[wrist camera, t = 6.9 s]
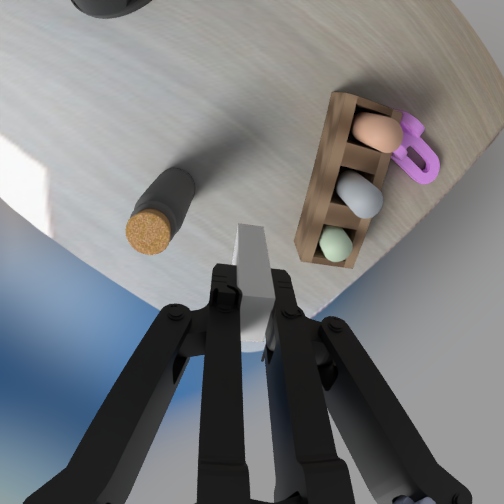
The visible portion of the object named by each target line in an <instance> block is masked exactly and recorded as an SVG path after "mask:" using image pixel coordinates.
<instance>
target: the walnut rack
mask: <svg viewBox="0 0 504 504" xmlns="http://www.w3.org/2000/svg"><path fill="white" fill-rule="evenodd" d="M355 107H359V108H362V109H365V110H368V111H371V112H372V114H377V115H381V116H385V117H390V118H393V119H395V120H396V121H397V122H398V123H399V124H400V122H401V119H402V115H403V113H402V112H399V111H397V110H394V109H392V108H389V107H387V106H384V105H381V104H378V103H376V102H373V101H370V100H367V99H364V98H361V97H358V96H355V95H352V94H349V93H343V92H332V94H331V98H330V102H329V107H328V111H327V115H326V119H325V124H324V128H323V132H322V136H321V140H320V144H319V148H318V152H317V156H316V160H315V164H314V168H313V172H312V176H311V180H310V184H309V187H308V191H307V195H306V199H305V203H304V206H303V210H302V214H301V217H300V221H299V225H298V228H297V232H296V236H295V239H294V243H295V246H296V248H297V251H298V254H299V257H300V260H301V261H302V262H309V263H316V264H323V265H330V266H337V267H344V268H351V269H353V266H354V264H355V261H356V259H357V256H358V254H359V251H360V248H361V246H362V243H363V240H364V238H365V235H366V232H367V229H368V227H369V224H370V221H371V218H372V217H371V218H367V219H363V218H360V217H358V216H356V215H355V214H354V212H353V211H352V210H351V209H350V208H349V207H348V205H347V204H346V203H345V202H344V201H343V200H342V199H341V197H340V196H339V195H338V194H337V192H335V191H333V190H334V187H335V183H336V180H337V176H338V172H339V169H340V165H341V166H345V167H349V168H352V169H356V170H357V173H359V174H360V175H361V176H363V177H364V178H365V179H366V180H368V181H369V182H370V183H372V184H373V185H374V186H375V187H377V188H378V189H379V190H380V191H381V188H382V185H383V182H384V179H385V176H386V172H387V169H388V166H389V162H390V159H391V156H392V152H391V153H384V152H381V151H379V150H377V149H375V148H373V147H371V146H369V145H367V144H362V143H358V142H355V141H351V140H348V135H349V131H350V127H351V123H352V119H353V115H354V111H355ZM323 224H327V225H333V226H338V227H342V228H343V230H344V231H345V233H346V234H347V236H348V237H349V239H350V240H351V242H352V246H353V247H352V252H351V254H350V255H349V256H348V257H347V258H346V259H345V260H343V261H340V262H332V261H330V260H328V259H327V258H326V257H325V255H324V253H323V251H322V248H321V246H320V244H319V242H318V240H319V237H320V234H321V230H322V227H323Z"/></svg>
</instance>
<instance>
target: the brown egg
mask: <svg viewBox="0 0 504 504" xmlns="http://www.w3.org/2000/svg"><path fill="white" fill-rule="evenodd" d="M351 132H352V135H353V136H354V137H355V138H356V139H357V140H358V141H360V142H362V143H364V144H367V145H369V146H371V147H373V148H375V149H377V150H379V151H381V152H384V153H391V152H394V151H395V150H397V149H398V148H399V147H400V145H401V143H402V140H403V131H402V128H401V126H400V124H399V123H398V122H397V121H396V120H395V119H393V118H390V117H385V116H381V115H377V114H372V113H368V112H361V113H358V114H357V115H355V116H354V118H353V119H352V123H351Z"/></svg>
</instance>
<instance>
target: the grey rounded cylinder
mask: <svg viewBox="0 0 504 504" xmlns="http://www.w3.org/2000/svg"><path fill="white" fill-rule="evenodd" d="M335 190H336V192H337V194H338V195H339V196H340V197H341V199H342V200H343V201H344V202H345V203H346V204H347V205H348V207H349V208H350V209H351V210H352V211H353V212H354V214H355V215H356V216H358V217H360V218H363V219H367V218H371V217H373V216H375V215H376V214H377V213H378V212H379V211H380V210H381V208H382V205H383V195H382V193H381V191H380V190H379V189H378V188H377V187H375V186H374V185H373V184H372V183H370V182H369V181H368V180H366V179H365V178H364V177H363V176H361V175H360V174H359V173H357V172H355V171H352V170H347V171H344V172H342V173H341V174H340V175H339V176H338V177H337V180H336V183H335Z"/></svg>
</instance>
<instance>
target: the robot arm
mask: <svg viewBox="0 0 504 504" xmlns="http://www.w3.org/2000/svg"><path fill="white" fill-rule="evenodd" d="M71 1H72V3H73V5H74V6H75V7H76V8H77V9H78V10H80V11H81V12H83V13H85V14H87V15H90V16H92V17H96V18H102V19H109V18H116V17H121V16H124V15H127V14H129V13H132V12H134V11H136V10H138V9H140V8H141V7H143V6H145V5H146V4H147V3H149V2H150V1H151V0H71ZM265 335H266V345H265V348H264V352H263V356H262V360H261V361H264V358H265V364H266V365H265V366H266V376H267V387H268V398H269V408H270V420H271V431H272V442H273V452H274V463H275V475H276V486H275V490H274V503H268V502H263V501H258V500H253V499H250V484H249V470H248V466H247V464H246V461H245V445H244V420H243V393H242V363H241V341H249V342H264V339H265ZM198 355H205V357H204V371H203V385H202V399H201V416H200V433H199V456H198V480H197V481H198V482H197V503H195V504H355V499H354V494H353V490H352V485H351V479H350V475H349V470H348V467H347V464H346V463H345V461H344V460H342V459H340V458H339V457H338V456H337V453H336V449H335V444H334V439H333V434H332V430H331V425H330V420H329V415H328V411H329V413H330V414H331V416H332V418H333V420H334V422H335V424H336V426H337V428H338V430H339V432H340V434H341V436H342V438H343V440H344V442H345V444H346V446H347V448H348V450H349V452H350V454H351V456H352V458H353V459H354V462H355V463H356V466H357V467H358V469H359V471H360V473H361V475H362V477H363V479H364V481H365V483H366V485H367V487H368V489H369V491H370V492H371V494H372V496H373V498H374V499H375V501H376V502H377V503H378V504H472V495H471V493H470V491H469V490H468V489H467V488H466V487H465V486H464V485H462V484H461V483H460V482H459V481H458V480H456V479H455V478H454V477H453V476H452V475H451V474H449V473H448V472H447V471H446V470H445V469H443V468H442V467H441V466H440V465H439V464H437V462H436V460H435V459H434V457H433V455H432V454H431V452H430V450H429V449H428V447H427V445H426V444H425V442H424V441H423V439H422V437H421V436H420V434H419V433H418V431H417V429H416V428H415V426H414V424H413V423H412V421H411V420H410V418H409V417H408V415H407V414H406V412H405V410H404V409H403V407H402V406H401V404H400V403H399V401H398V399H397V398H396V396H395V395H394V393H393V392H392V390H391V389H390V387H389V385H388V384H387V382H386V381H385V379H384V378H383V376H382V375H381V373H380V372H379V370H378V369H377V367H376V366H375V364H374V363H373V361H372V360H371V358H370V357H369V355H368V354H367V352H366V351H365V349H364V348H363V346H362V345H361V343H360V342H359V340H358V339H357V338H356V336H355V335H354V333H353V332H352V330H351V329H350V327H349V326H348V324H347V323H345V321H344V320H342V319H340V318H337V317H334V316H332V317H331V316H329V317H326V318H324V319H323V320H322V322H319V321H315V320H312V319H309V318H307V317H306V316H305V314H304V312H303V310H302V309H300V308H299V307H298V306H297V302H296V298H295V294H294V290H293V286H292V282H291V278H290V275H289V274H288V273H287V272H286V271H285V270H280V269H271V268H270V263H269V257H268V251H267V245H266V239H265V233H264V227H262V226H254V225H246V224H238V228H237V235H236V241H235V248H234V254H233V261H232V265H228V264H219V263H217V264H216V266H215V267H214V268H213V272H212V281H211V291H210V300H209V303H208V304H207V306H205V307H204V308H202V309H200V310H195V311H190V309H189V308H188V307H186V306H184V305H182V304H169V305H167V306H164V307H163V308H162V309H161V311H160V312H159V314H158V315H157V317H156V318H155V320H154V321H153V323H152V325H151V326H150V328H149V329H148V331H147V332H146V334H145V335H144V337H143V339H142V340H141V342H140V344H139V345H138V346H137V348H136V350H135V351H134V353H133V355H132V356H131V358H130V359H129V361H128V362H127V364H126V366H125V367H124V369H123V371H122V372H121V374H120V376H119V377H118V379H117V380H116V382H115V384H114V385H113V387H112V389H111V390H110V392H109V394H108V395H107V397H106V399H105V400H104V402H103V404H102V405H101V407H100V409H99V410H98V412H97V414H96V416H95V417H94V419H93V421H92V422H91V424H90V426H89V428H88V430H87V431H86V433H85V435H84V437H83V438H82V440H81V442H80V443H79V445H78V447H77V449H76V451H75V453H74V454H73V456H72V458H71V460H70V462H69V463H68V465H67V467H66V468H65V469H63V470H62V471H61V472H60V473H58V474H57V475H56V476H55V477H53V478H52V479H51V480H50V481H48V482H47V483H46V484H44V485H43V486H42V487H41V488H39V489H38V490H37V491H35V492H34V493H33V494H31V495H30V496H29V497H27V498H26V500H25V501H24V502H23V504H124V503H125V502H126V500H127V498H128V496H129V494H130V492H131V490H132V487H133V485H134V483H135V480H136V478H137V476H138V474H139V471H140V469H141V467H142V464H143V462H144V460H145V458H146V455H147V453H148V451H149V449H150V446H151V444H152V442H153V440H154V437H155V435H156V433H157V431H158V428H159V426H160V424H161V422H162V419H163V417H164V415H165V413H166V410H167V408H168V406H169V404H170V402H171V399H172V397H173V395H174V392H175V390H176V388H177V386H178V384H179V382H180V379H181V377H182V375H183V373H184V371H185V368H186V366H187V364H188V362H189V360H190V357H192V356H198ZM327 408H328V411H327Z"/></svg>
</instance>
